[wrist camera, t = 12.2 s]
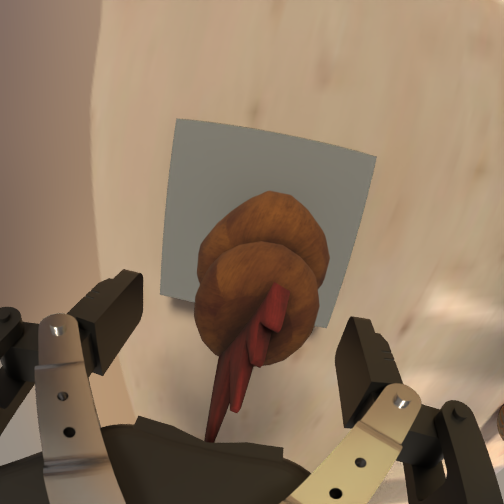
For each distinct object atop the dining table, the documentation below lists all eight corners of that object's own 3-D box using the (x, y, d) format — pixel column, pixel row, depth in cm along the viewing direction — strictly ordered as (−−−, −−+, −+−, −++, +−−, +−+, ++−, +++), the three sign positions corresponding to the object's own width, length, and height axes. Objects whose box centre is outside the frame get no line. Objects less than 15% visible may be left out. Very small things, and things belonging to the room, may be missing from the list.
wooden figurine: (253, 290, 23) (217, 485, 9) (200, 227, 21) (83, 386, 7) (333, 237, 21) (407, 418, 7) (282, 166, 19) (287, 255, 5)
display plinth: (365, 153, 21) (376, 156, 18) (323, 307, 26) (326, 327, 23) (189, 119, 22) (176, 118, 19) (172, 277, 27) (160, 294, 24)
